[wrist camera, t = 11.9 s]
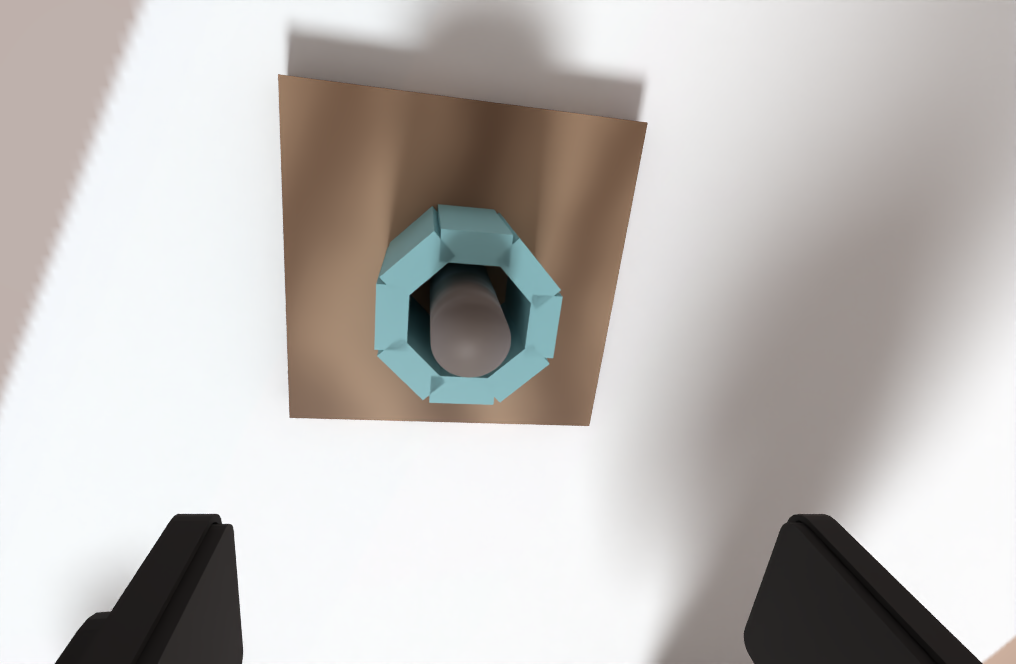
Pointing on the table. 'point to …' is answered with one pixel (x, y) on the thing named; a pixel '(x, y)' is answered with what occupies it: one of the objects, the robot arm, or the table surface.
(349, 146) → the post stand
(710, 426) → the table surface
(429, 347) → the ring
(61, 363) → the table surface
